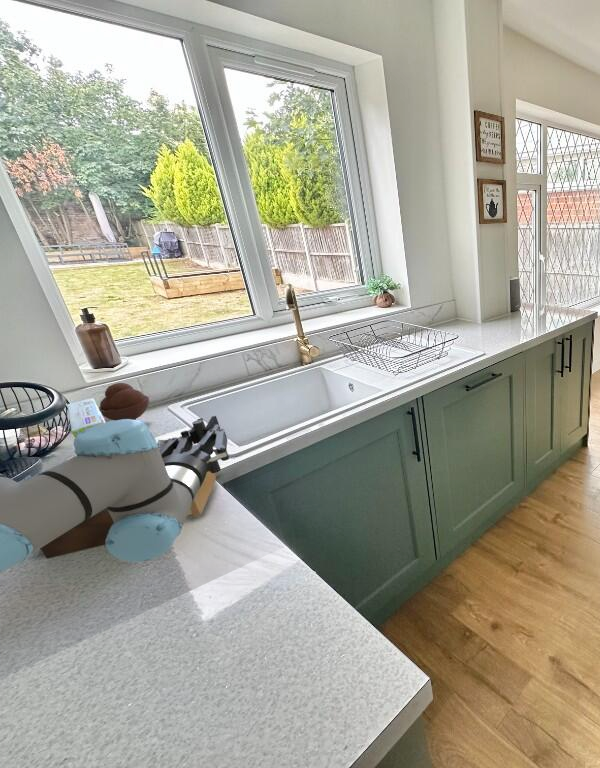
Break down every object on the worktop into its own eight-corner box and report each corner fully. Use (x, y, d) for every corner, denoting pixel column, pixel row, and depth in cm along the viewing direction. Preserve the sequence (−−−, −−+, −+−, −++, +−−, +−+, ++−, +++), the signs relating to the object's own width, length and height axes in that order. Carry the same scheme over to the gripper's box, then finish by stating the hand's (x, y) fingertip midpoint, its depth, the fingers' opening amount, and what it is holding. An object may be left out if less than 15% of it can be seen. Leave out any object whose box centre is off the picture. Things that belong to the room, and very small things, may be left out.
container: (234, 474, 97) (210, 407, 90) (221, 510, 85) (193, 436, 78) (130, 497, 90) (95, 426, 83) (100, 539, 79) (57, 460, 72)
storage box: (174, 492, 94) (158, 454, 90) (151, 533, 82) (132, 492, 78) (85, 512, 88) (63, 473, 84) (46, 558, 76) (19, 516, 72)
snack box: (91, 454, 110) (65, 403, 104) (118, 446, 114) (95, 396, 108) (98, 487, 96) (69, 430, 90) (130, 476, 100) (104, 421, 94)
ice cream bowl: (101, 440, 117) (77, 392, 111) (139, 421, 127) (120, 376, 121) (132, 443, 115) (110, 394, 109) (169, 423, 125) (150, 378, 119)
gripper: (128, 513, 69) (174, 445, 89) (231, 489, 74) (252, 430, 94) (109, 475, 66) (161, 414, 86) (218, 454, 71) (243, 400, 91)
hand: (209, 422), depth 90 cm, fingers closed on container, 2 cm apart
